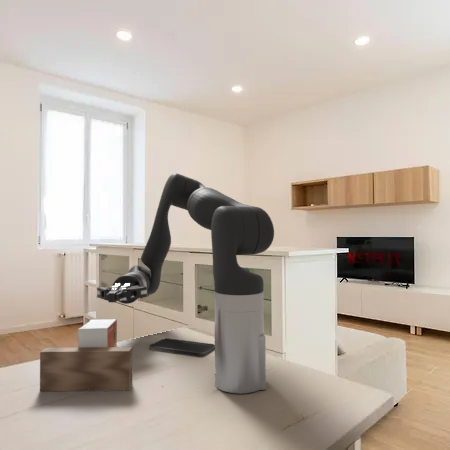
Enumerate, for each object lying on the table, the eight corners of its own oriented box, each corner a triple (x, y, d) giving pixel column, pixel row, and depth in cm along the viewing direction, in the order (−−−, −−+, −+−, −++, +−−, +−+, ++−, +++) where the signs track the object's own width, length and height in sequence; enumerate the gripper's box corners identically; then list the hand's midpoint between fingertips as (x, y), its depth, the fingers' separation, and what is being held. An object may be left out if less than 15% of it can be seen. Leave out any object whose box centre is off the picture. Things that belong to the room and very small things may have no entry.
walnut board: (132, 384, 69) (132, 347, 69) (129, 390, 67) (129, 351, 67) (46, 385, 69) (46, 347, 69) (39, 391, 66) (40, 351, 67)
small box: (107, 384, 69) (107, 328, 70) (77, 385, 69) (77, 328, 69) (117, 369, 77) (117, 318, 78) (90, 369, 77) (90, 318, 77)
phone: (202, 353, 84) (147, 346, 90) (202, 358, 84) (147, 350, 90) (216, 344, 92) (165, 337, 98) (216, 349, 92) (165, 342, 98)
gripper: (106, 273, 100) (82, 281, 83) (154, 273, 101) (141, 280, 83) (105, 301, 100) (81, 314, 83) (154, 300, 100) (141, 314, 83)
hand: (111, 297), depth 83 cm, fingers closed
